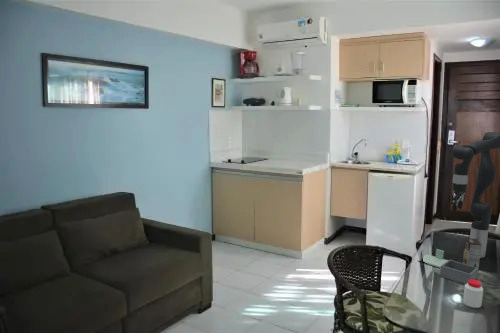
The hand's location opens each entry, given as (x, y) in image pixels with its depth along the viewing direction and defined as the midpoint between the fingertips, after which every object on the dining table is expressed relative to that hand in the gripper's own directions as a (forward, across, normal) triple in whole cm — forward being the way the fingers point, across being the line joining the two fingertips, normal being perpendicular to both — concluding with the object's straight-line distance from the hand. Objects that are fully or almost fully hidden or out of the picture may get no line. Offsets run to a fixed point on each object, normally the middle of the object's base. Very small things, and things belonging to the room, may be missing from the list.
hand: (457, 210), depth 239 cm
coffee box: (+32, -1, +10) cm, 34 cm away
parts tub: (+32, +17, +10) cm, 38 cm away
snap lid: (+32, +7, -6) cm, 34 cm away
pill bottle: (+32, +42, +25) cm, 59 cm away
